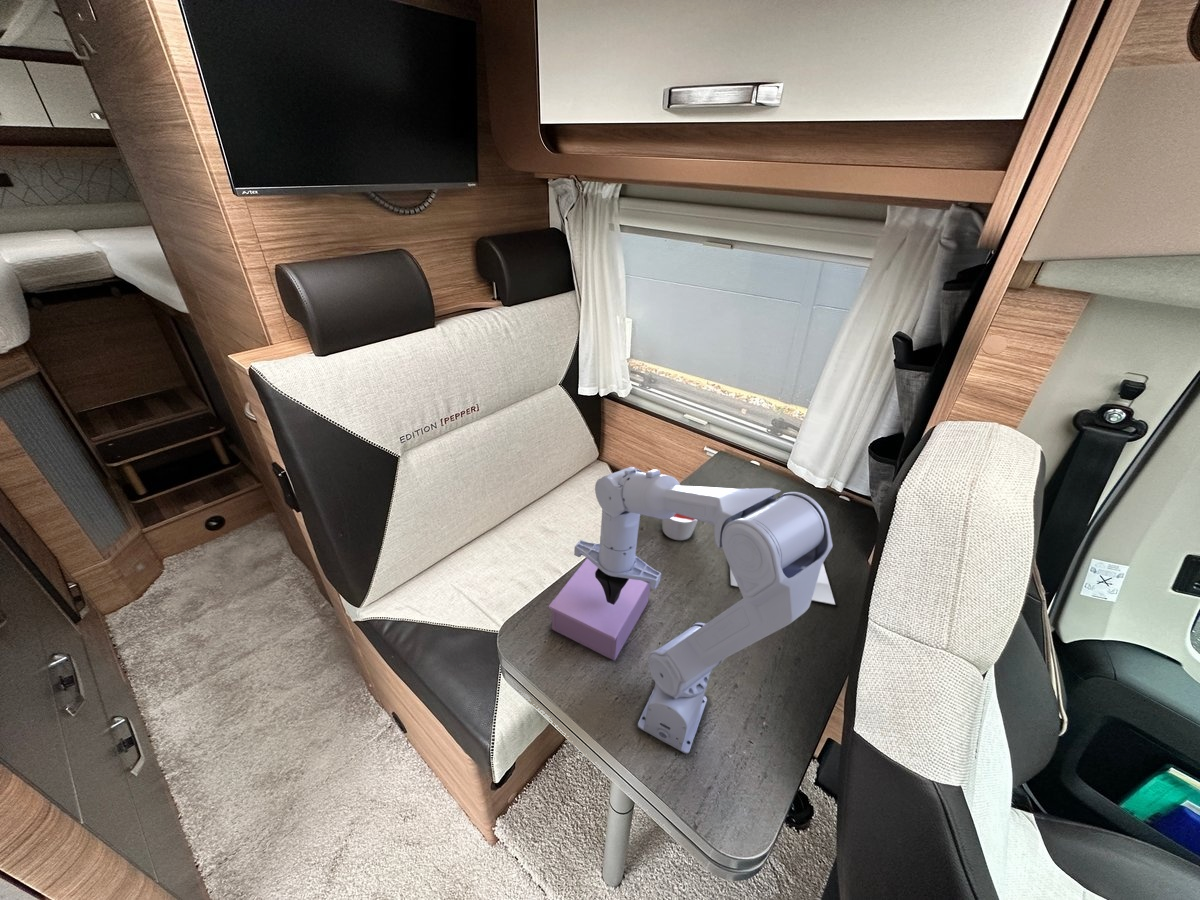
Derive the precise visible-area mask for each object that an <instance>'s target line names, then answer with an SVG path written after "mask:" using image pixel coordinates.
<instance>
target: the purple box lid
mask: <svg viewBox="0 0 1200 900" xmlns="http://www.w3.org/2000/svg"><path fill="white" fill-rule="evenodd" d="M597 569H598V567H597V566H595V565H594V564H593V563H592V562H591V561H590V560H588V559H587V558H585V560H584V561H583V562H582V564H581V565H580V566H579V567H578V568H577V570H576V571H575V572H574V574H573V575H572V576H571V578H570V579H569V580H568V581H567V583H566V584H565V585H564V586H563V588H562V589H561V590H560V591H559V593H558V594H557V595H556V596H555V597H554V598H553V600H552V601H551V603H550V604H548V609H549V610H550V611H552V610H553V611H555V612H557V613H559V614H561V615H563V616H565V617H567V618H569V619H571V620H573V621H575V622H577V623H579V624H582V625H584V626H586V627H588V628H590V629H592V630H594V631H596V632H598V633H600V634H602V635H604V636H606V637H608V638H610V639H612V640H615V639H616V638H617V636H618V634H619V633H620V631H621V629H622V628H623V626H624V624H625V623H626V621H627V619H628V618H629V616H630V614H631V612H632V611H633V609H634V607H635V606H636V604H637V602H638V601H639V599H640V597H641V596H642V594H643V592H644V590H645V589H646V587H647V585H648V584H649V583H646V582H644V581H642V580H635V579H629V580H628V581H627V583H626V584H625V586H624V587H623V588H622V590H621V592H620V595H619V598H618V600H617V601H616V603H615V604H614V605H613V604H611V603H608V602H607V600H606V596H605V593H604V590H603V587H602V585H601V584H600V582H599V581H598V580H597V578H596V577H595V572H596V570H597Z"/></svg>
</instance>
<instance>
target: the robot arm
mask: <svg viewBox="0 0 1200 900" xmlns="http://www.w3.org/2000/svg"><path fill="white" fill-rule="evenodd" d="M594 492H595V497H596V500H597V503H598V505H599V507H600V508H601V523H600V536H599V537H600V538H599V543H595V542H589V541H585V540H582V539H580V540H579V541H578V542H577V543H576V544H575V545H574V552H573V553H574V554H573V556H575V557H578V558H581V557H582V556H583V557H585V559H588V560H590V561H591V562H592V563H593V564H594V565H595V566H597V567H598V569H597V570H596V572H595V577H596V578H597V580H598V581H599V582H600V584H601V585H602V587H603V590H604V593H605V596H606V600H607V602H608V603H611V604H613V605H614V604H615V603H616V601H617V600H618V598H619V595H620V592H621V590H622V588H623V587H624V586H625V584H626V583H627V581H628V580H629V579H635V580H642V581H644V582H646V583H649V587H650V589H653V590H656V589H657V588H658V585H659V583H660V582H661V577H662V572H660V571H658V570H657V569H654V568H653V567H652V566H650V565H649V564H647V563H646V562H645V561H643V559H641V558H640V557H639V556H638V555H636V553H637V545H638V537H639V536H638V535H639V527H640V521H641V516H646V517H649V518H653V519H658V520H662V519H663V520H665V519H669V518H671V517H673V516H674V515H675V514H680V515H683V516H686V517H690V518H693V519H696V520H698V521H700V522H703V523H707V524H710V525H713V526H714V528H713V534H714V535H713V536H714V543H715V546H716V547H717V548H718V549H721V548H722V550H723V553H724V557H725V559H726V561H727V563H728V567H729V569H730V568H731V571H732V573H733V575H734V578H735V580H736V582H737V584H738V587H737V588H738V589H739V591H740V593H741V596H742V598H741V599H740V600H738V601H737V602H736V603H734V604H733V605H731V606H730V607H728V608H726V609H725V610H724V611H723V612H721V613H720V614H717V616H715V617H714V618H712V619H711V620H709V621H708V622H706V623H704V622H695V623H693V624H692V625H691V626H690V627H689V628H688V629H686V630H685V631H683V632H682V633H680V634H679V635H676V637H674V638H673V639H671V640H670V641H668V642H667V643H665V644H663V645H662V646H661V647H659V648H658V649H654V650H652V651H650V652H649V654H648V658H647V659H648V660H647V661H648V662H647V663H648V665H647V666H648V670H649V673H650V675H651V678H652V680H653V681H654V687H653V689H652V691H651V694H650V696H649V698H648V700H647V703H646V705H645V707H644V708H643V711H642V713H641V716H640V718H639V720H638V722H637V728H638V729H640V730H642V731H643V732H645V733H647V734H649V735H651V736H652V737H654V738H656V739H658V740H660V741H661V742H663V743H664V744H667V745H669V746H670V747H672V748H674V749H676V750H678V751H680V752H681V753H683V754H686V755H687V754H689V753H690V750H691V748H692V745H693V742H694V739H695V736H696V733H697V731H698V727H699V725H700V722H701V719H702V716H703V713H704V710H705V707H706V705H707V701H708V697H706V695H705V694H706V690H707V686H708V683H709V680H710V675H711V673H712V671H713V669H714V668H715V667H717V666H719V665H721V664H723V662H724V660H725V659H727V658H729V657H731V656H732V655H735V654H736V653H738V652H740V651H742V650H744V649H746V648H748V647H749V646H751V645H753V644H755V643H758V642H759V641H761V640H763V639H764V638H767V637H769V636H770V635H772V634H774V633H777V632H778V631H779V630H782V629H784V628H785V627H787V626H789V625H790V624H792V623H793V622H794V621H796V620H797V619H799V617H801V616H802V615H804V614H805V613H806V612H807V611H808V609H809V608H810V607H811V604H812V601H811V600H812V597H813V593H814V590H815V586H816V583H817V579H818V576H819V572H820V569H821V566H822V564H824V562H825V560H826V558H827V557H828V556H829V554H830V552H831V550H832V549H833V548H834V547H833V545H834V544H833V539H832V535H831V529H830V528H831V527H830V524H829V519H828V516H827V514H826V512H825V511H824V509H823V508H822V507H821V505H820V504H819V503H818V502H817V501H816V500H815V499H814V498H812V496H809V495H807V494H806V493H802V492H799V491H788V492H784V493H782V494H781V495H779V496H778V497H777V498H775V496H776V495H777V494H779V493H781V492H782V490H780V489H776V488H773V487H755V488H754V487H753V488H751V487H750V488H734V487H733V488H732V487H717V486H716V487H713V486H697V485H696V486H695V485H694V486H693V485H681V483H680V482H679V481H678V480H677V478H676V477H674V476H672V475H669V474H661V470H660V469H650V470H648V471H646V472H643V471H642V470H641V469H639V468H635V467H634V466H629V467H626V468H623V469H621V470H618V471H615V472H612V473H609V474H607V475H604V476H602V477H601V478H598V479H597V480H596V482H595V484H594Z"/></svg>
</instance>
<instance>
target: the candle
mask: <svg viewBox="0 0 1200 900" xmlns="http://www.w3.org/2000/svg"><path fill="white" fill-rule="evenodd" d="M698 522H699V520H696V519H693V518H690V517H686V516H683V515H680V514H675V515H674V516H673V517H671V518H669V519H665V520H663V519H661V527H662V528H661V530H662V532H663V533H664V535H665V536H666V537H668V538H669V539H672V540H675V541H685V540H688V539H690V538H691V537H692V535H693V534H694V532H695V529H696V527H697V524H698Z"/></svg>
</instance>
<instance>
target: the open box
mask: <svg viewBox="0 0 1200 900" xmlns="http://www.w3.org/2000/svg"><path fill="white" fill-rule="evenodd" d="M650 591H651V588H650V587H649V584H648V585H647V587H646V589H645V590H644V592H643V594H642V596H641V597H640V599H639V601H638V602H637V604H636V606H635V607H634V609H633V611H632V612H631V614H630V616H629V618H628V619H627V621H626V623H625V624H624V626H623V628H622V629H621V631H620V633H619V634H618V636H617V638H616V639H615V640H612V639H610V638H608V637H606V636H604V635H602V634H600V633H598V632H596V631H594V630H592V629H590V628H588V627H586V626H584V625H582V624H579V623H577V622H575V621H573V620H571V619H569V618H567V617H565V616H563V615H561V614H559V613H557V612H555V611H553V610H551V630H553V631H554V632H556V633H558V634H560V635H562V636H564V637H566V638H568V639H570V640H572V641H575V642H576V643H578V644H579V645H582V646H584V647H586V648H588V649H590V650H591V651H594V652H596V653H598V654H600V655H602V656H604V657H606V658H608V659H610V660H612V661H614V662H615V661H616V659H617V658H618V656H619V654H620V652H621V651H622V649H623V647H624V645H625V643H626V642H627V640H628V638H629V636H630V635H631V633H632V631H633V630H634V628H635V626H636V624H637V623H638V621H639V619H640V617H641V616H642V614H643V613H644V610H645V608H646V606H647V605H648V603H649V600H650V599H649V598H650Z"/></svg>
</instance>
